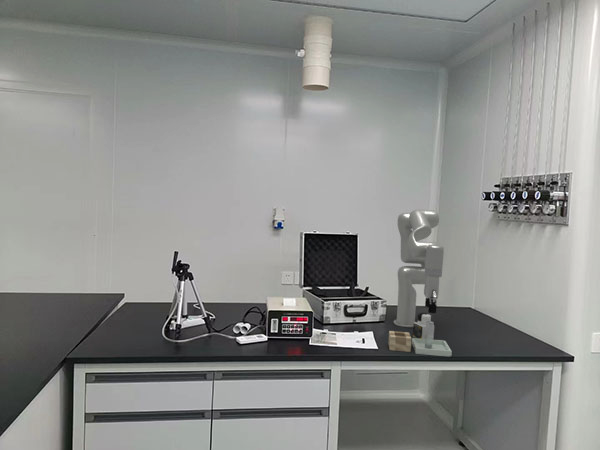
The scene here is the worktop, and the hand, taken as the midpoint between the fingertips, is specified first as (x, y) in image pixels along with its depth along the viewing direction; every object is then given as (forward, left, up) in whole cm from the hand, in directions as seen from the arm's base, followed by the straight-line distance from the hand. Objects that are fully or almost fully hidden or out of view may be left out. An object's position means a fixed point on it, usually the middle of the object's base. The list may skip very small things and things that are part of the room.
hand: (430, 309), depth 203 cm
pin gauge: (+1, 0, -17) cm, 17 cm away
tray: (+1, +1, -18) cm, 18 cm away
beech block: (+2, -13, -18) cm, 22 cm away
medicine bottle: (-16, 0, -18) cm, 24 cm away
